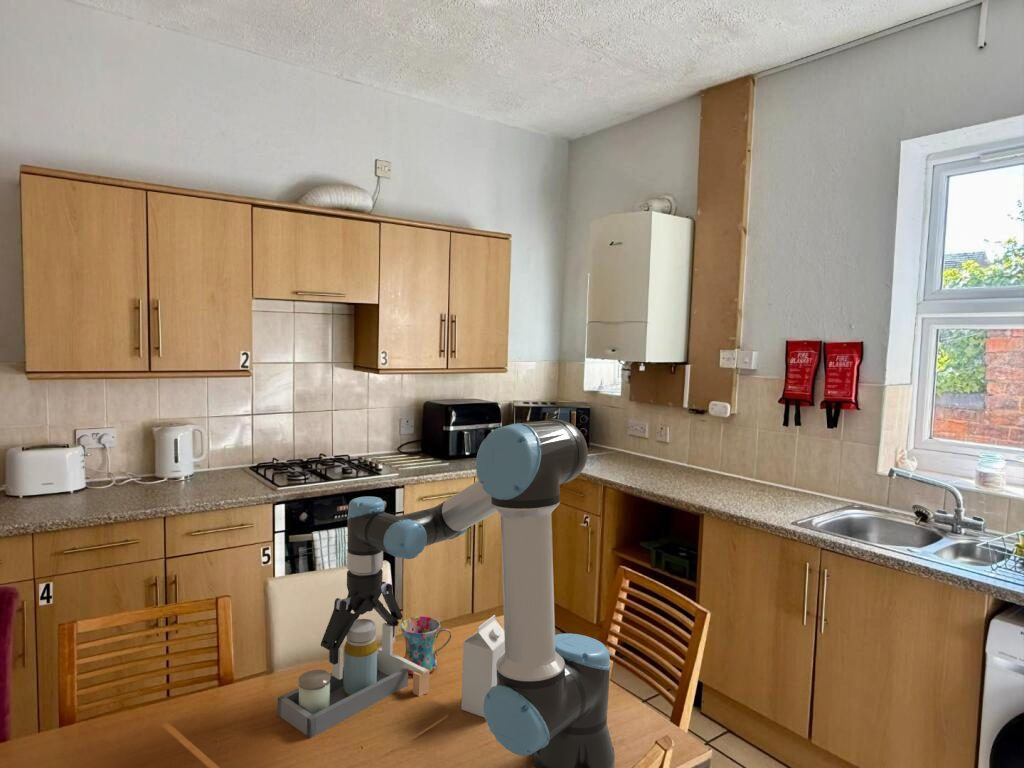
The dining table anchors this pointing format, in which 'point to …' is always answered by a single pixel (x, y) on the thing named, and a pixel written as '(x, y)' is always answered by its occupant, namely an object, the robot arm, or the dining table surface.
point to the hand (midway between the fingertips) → (363, 664)
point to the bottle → (360, 656)
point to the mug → (422, 641)
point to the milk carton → (481, 665)
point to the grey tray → (339, 702)
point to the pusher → (396, 663)
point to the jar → (314, 690)
